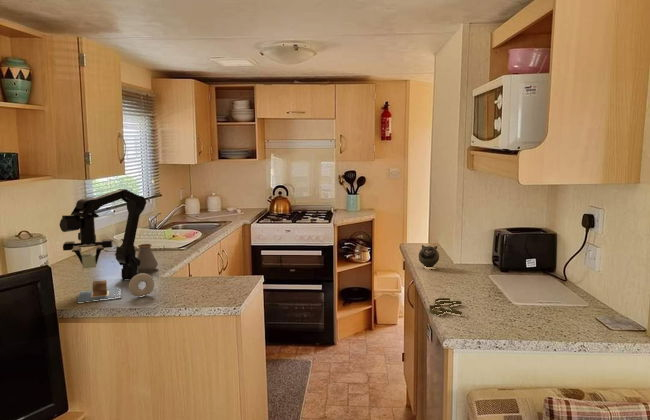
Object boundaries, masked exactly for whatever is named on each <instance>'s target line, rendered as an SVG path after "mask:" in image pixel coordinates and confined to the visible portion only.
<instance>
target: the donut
mask: <svg viewBox="0 0 650 420" xmlns="http://www.w3.org/2000/svg"><path fill="white" fill-rule="evenodd" d="M143 282H144V283H145V287H143V288H139V287H138V285H139V283H143ZM154 288H155V280H154V279H153V277H152V276H151V275H150V274H148V273H146V272H139V273H137V275H135V276H134V277H133V278H132V279H131V280H130V281H129V284H128V289H129V292H130V293H131V295H133V296H134V297H136V296H143V295H147V294H149V295H150V294H151V293H152V292H153V290H154ZM147 296H148V295H147Z"/></svg>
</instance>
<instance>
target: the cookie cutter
mask: <svg viewBox="0 0 650 420" xmlns="http://www.w3.org/2000/svg"><path fill="white" fill-rule="evenodd" d="M438 300H449V301H440V302H439V303H438V302H436V301H438ZM453 302H456V303H453ZM444 303H452V304H450V305H448V308H445V307H442V306H441V305H440V304H444ZM435 304H437V305H435ZM454 304H462V300H451V298H448V297H440V298H439V297H438V298H435V299H434V304H433V305H431V304H430V305H429V308H428V309H429V313H430V314H432V315H434V314H436V315H439V314H443V313H444V312H446V311H447V312H451V313H455V314H460V315H461V314H462V315H463V311H460V310H457V309H455V308H453V307H452V308H451V307H450V306H451V305H454ZM435 307H440V308H439V309H438V310H439V311H442V312H439V311H438V310H436V309H434V310H432V309H433V308H435ZM449 308H450V309H451V310H452V311H451V310H449ZM436 315H435V316H436Z"/></svg>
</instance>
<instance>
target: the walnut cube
mask: <svg viewBox="0 0 650 420" xmlns="http://www.w3.org/2000/svg"><path fill="white" fill-rule="evenodd" d="M107 283H108V282H107V279H106V280H105V279H104V280H93V281H92V290H93V296H102V295H107V289H108V286H107V285H108V284H107Z"/></svg>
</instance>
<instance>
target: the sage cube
mask: <svg viewBox="0 0 650 420" xmlns="http://www.w3.org/2000/svg"><path fill="white" fill-rule="evenodd" d="M97 264H98V263H97ZM97 264H96V253H86V254H85V253H84V254H82V264H81V265H82V269H90V268H92V269H94V268H96V267H97Z"/></svg>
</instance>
